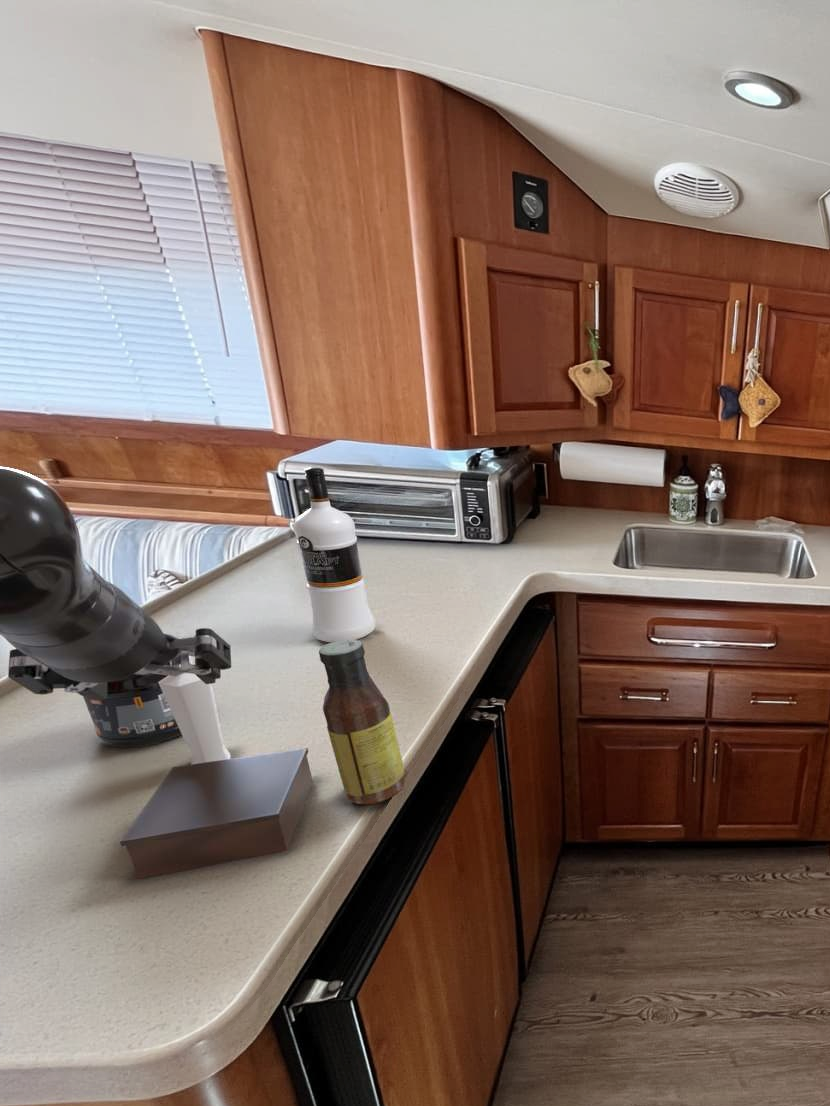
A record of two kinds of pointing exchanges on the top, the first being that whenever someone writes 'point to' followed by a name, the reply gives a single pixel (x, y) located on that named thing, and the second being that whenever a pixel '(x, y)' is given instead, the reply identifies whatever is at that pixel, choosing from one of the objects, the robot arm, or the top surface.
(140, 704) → the supplement container
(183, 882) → the top surface
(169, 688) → the white faceted vase
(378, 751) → the sauce bottle
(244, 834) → the box
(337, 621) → the vodka
